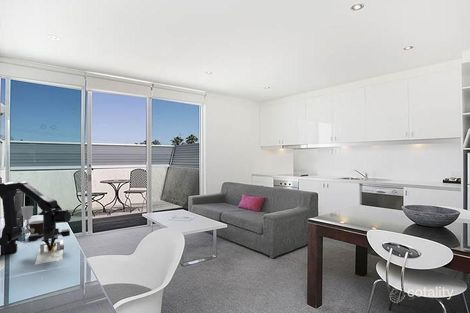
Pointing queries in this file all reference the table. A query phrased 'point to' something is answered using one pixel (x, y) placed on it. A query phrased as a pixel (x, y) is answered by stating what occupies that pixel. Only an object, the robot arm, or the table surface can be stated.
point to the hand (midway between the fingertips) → (50, 250)
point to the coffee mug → (36, 227)
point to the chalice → (27, 215)
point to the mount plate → (49, 255)
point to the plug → (52, 247)
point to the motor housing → (59, 246)
